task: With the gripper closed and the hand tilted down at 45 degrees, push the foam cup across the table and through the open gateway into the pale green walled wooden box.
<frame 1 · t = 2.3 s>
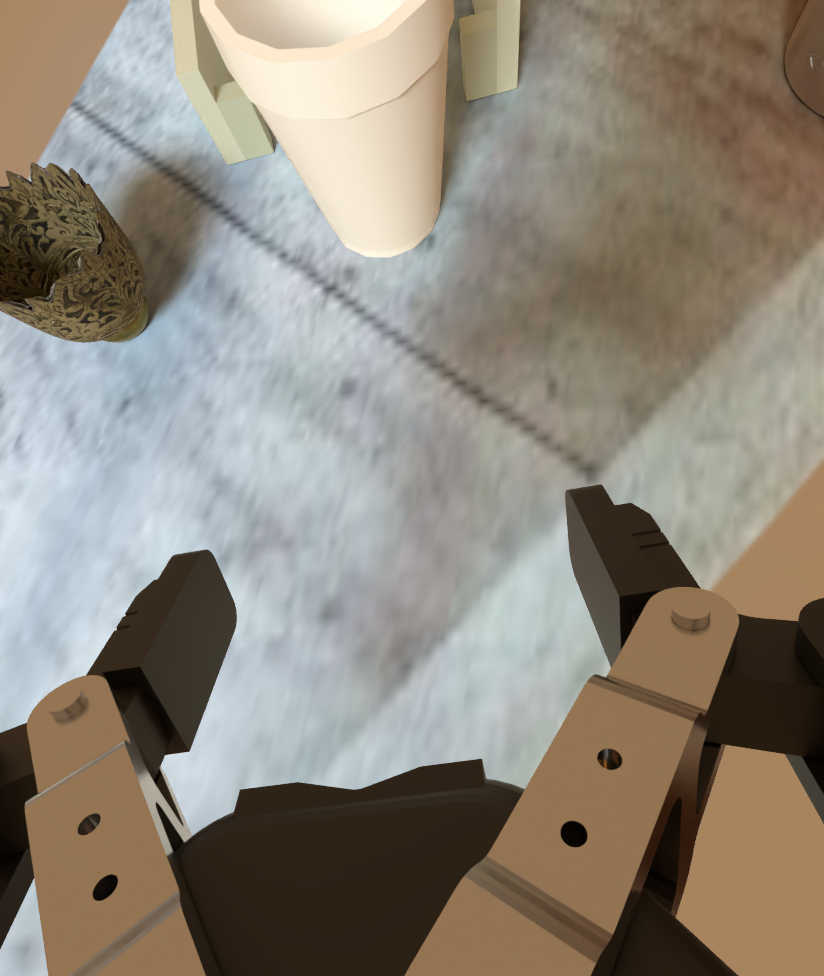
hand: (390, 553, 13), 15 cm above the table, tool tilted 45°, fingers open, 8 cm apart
foam cup: (385, 212, 34), on the table
walled box: (347, 17, 38), on the table
cup: (127, 321, 35), on the table
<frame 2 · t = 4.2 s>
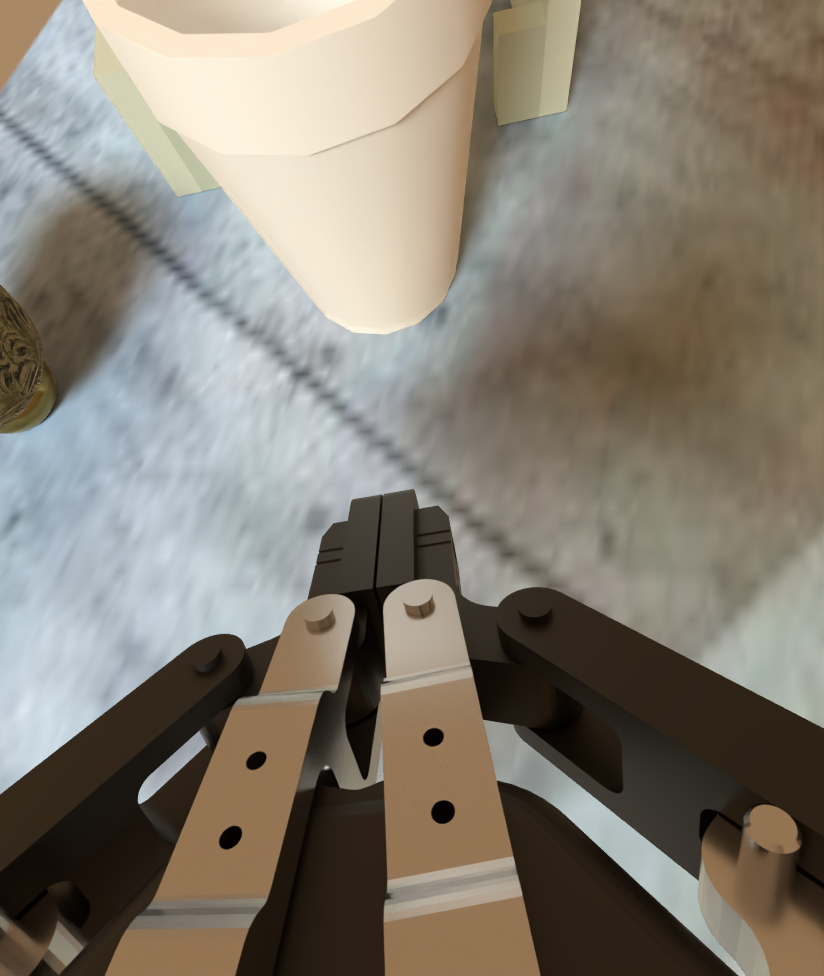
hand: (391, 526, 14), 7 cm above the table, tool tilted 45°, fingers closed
foam cup: (382, 270, 25), on the table
walled box: (346, 11, 29), on the table
cup: (29, 401, 26), on the table
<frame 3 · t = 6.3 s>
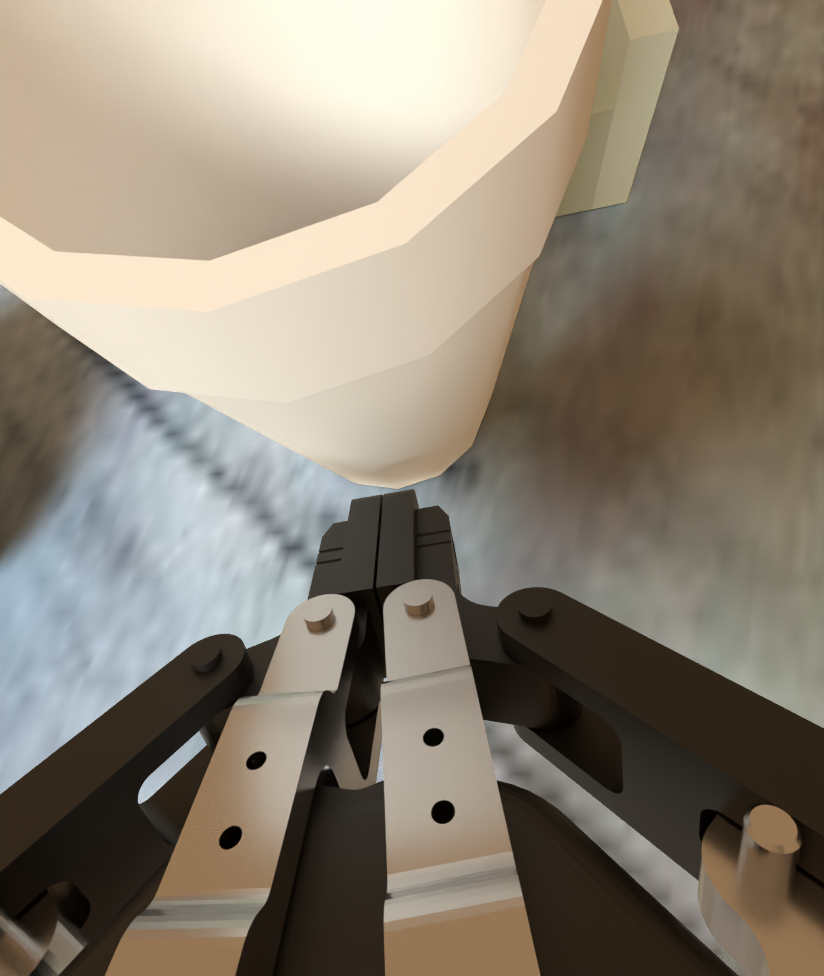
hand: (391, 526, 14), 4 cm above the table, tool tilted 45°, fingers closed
foam cup: (393, 400, 20), on the table, touching gripper
walled box: (348, 65, 24), on the table
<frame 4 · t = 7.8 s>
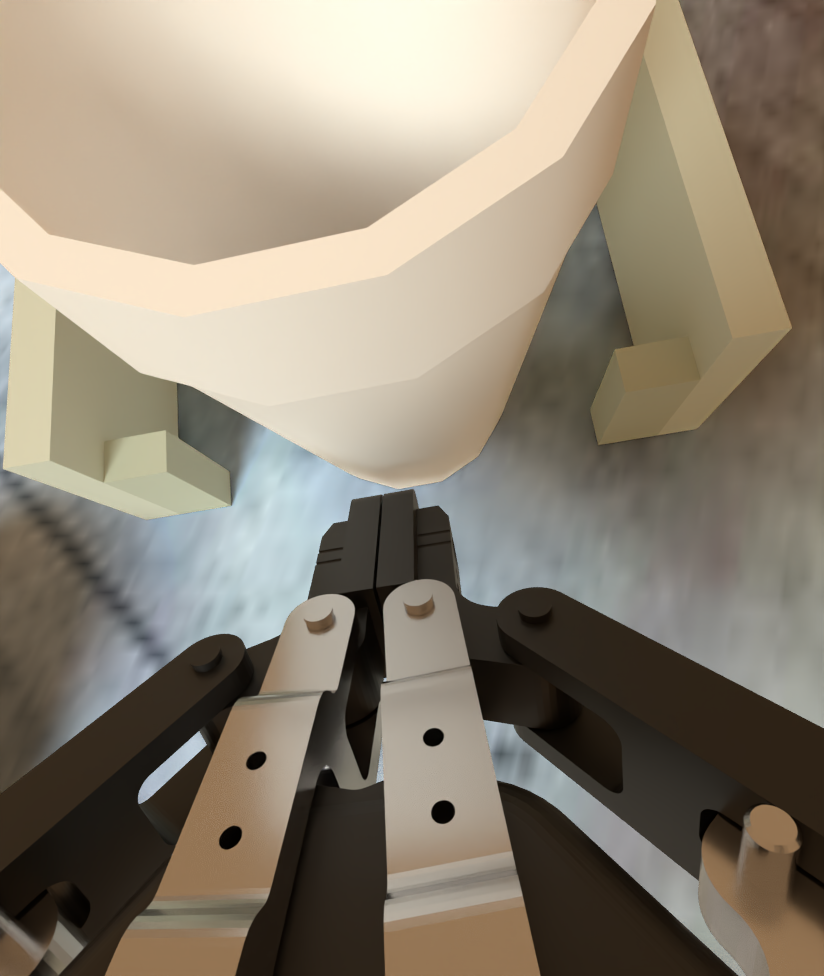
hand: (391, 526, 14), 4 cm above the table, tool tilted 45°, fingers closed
foam cup: (407, 399, 20), on the table, touching gripper
walled box: (377, 241, 21), on the table
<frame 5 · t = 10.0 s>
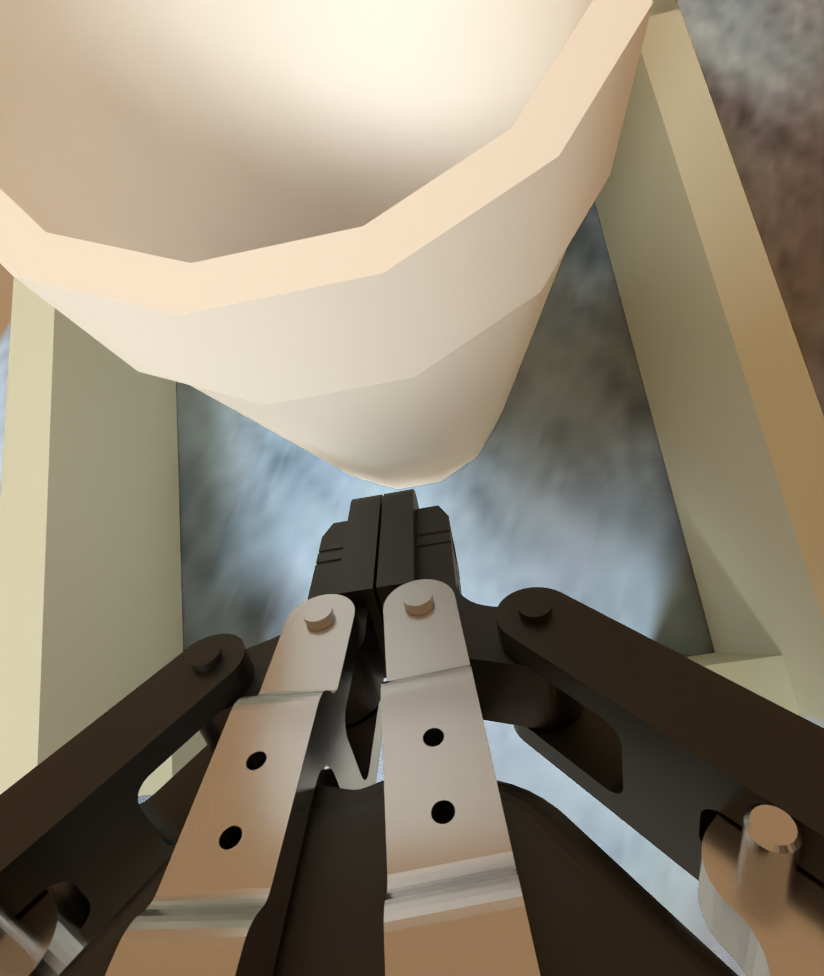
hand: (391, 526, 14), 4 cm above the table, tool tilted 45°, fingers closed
foam cup: (406, 399, 20), on the table, touching gripper
walled box: (403, 440, 19), on the table
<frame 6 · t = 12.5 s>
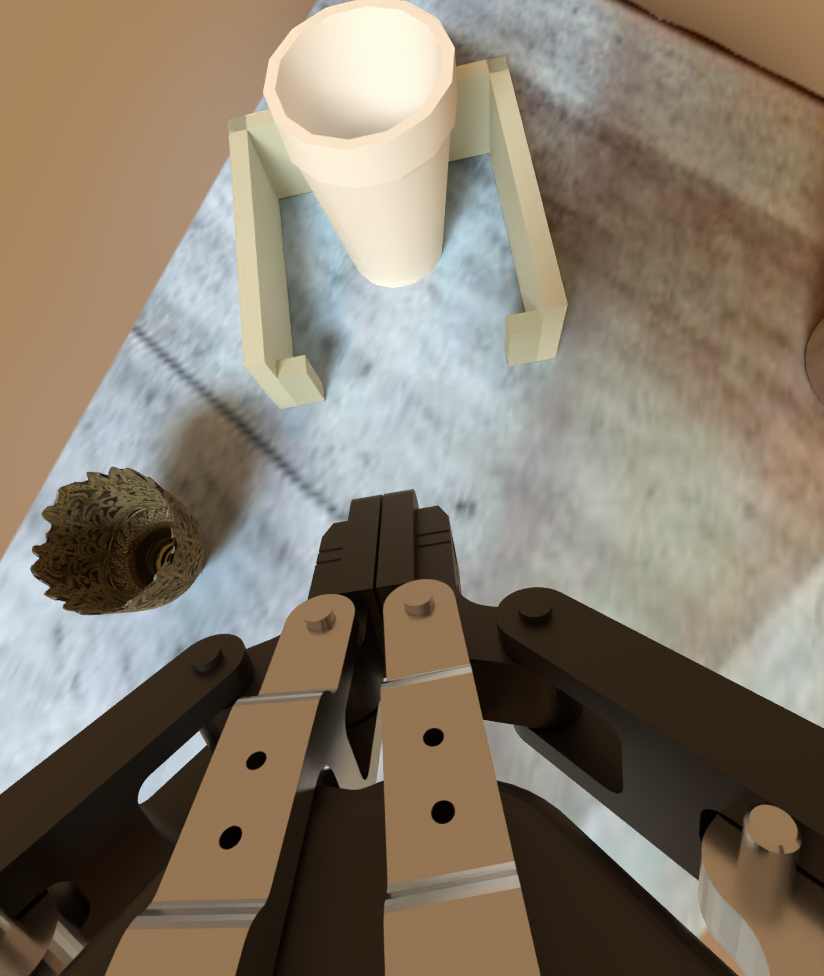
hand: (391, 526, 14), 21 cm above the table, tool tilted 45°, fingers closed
foam cup: (398, 249, 41), on the table
walled box: (396, 266, 40), on the table
cup: (182, 562, 37), on the table
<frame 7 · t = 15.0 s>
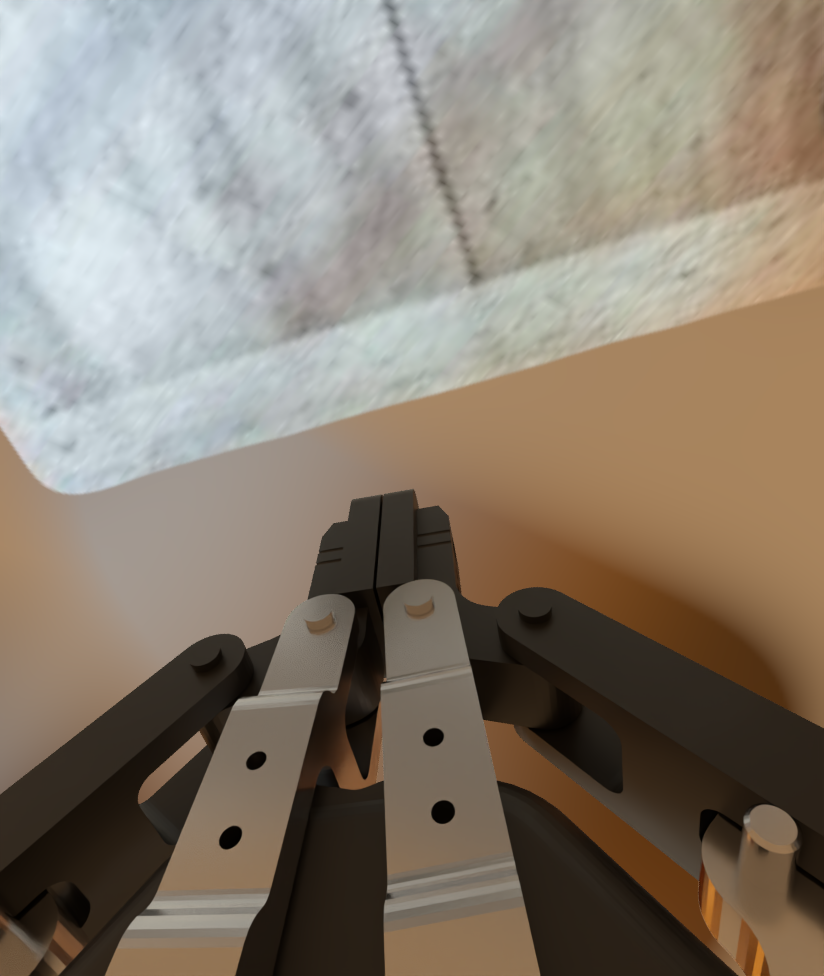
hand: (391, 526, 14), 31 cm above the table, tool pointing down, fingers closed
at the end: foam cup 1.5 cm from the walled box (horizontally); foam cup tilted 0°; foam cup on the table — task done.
